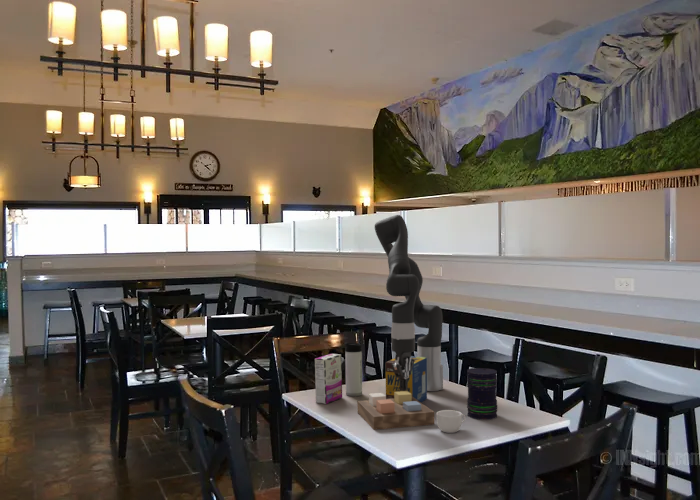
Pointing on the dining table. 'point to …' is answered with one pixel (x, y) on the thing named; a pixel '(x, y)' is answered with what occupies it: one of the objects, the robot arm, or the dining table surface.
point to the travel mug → (353, 369)
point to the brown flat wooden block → (395, 416)
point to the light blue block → (411, 406)
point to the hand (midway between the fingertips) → (403, 390)
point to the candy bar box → (328, 378)
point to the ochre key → (402, 397)
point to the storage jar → (482, 393)
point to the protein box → (409, 379)
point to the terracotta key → (385, 406)
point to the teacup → (449, 420)
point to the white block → (376, 398)
